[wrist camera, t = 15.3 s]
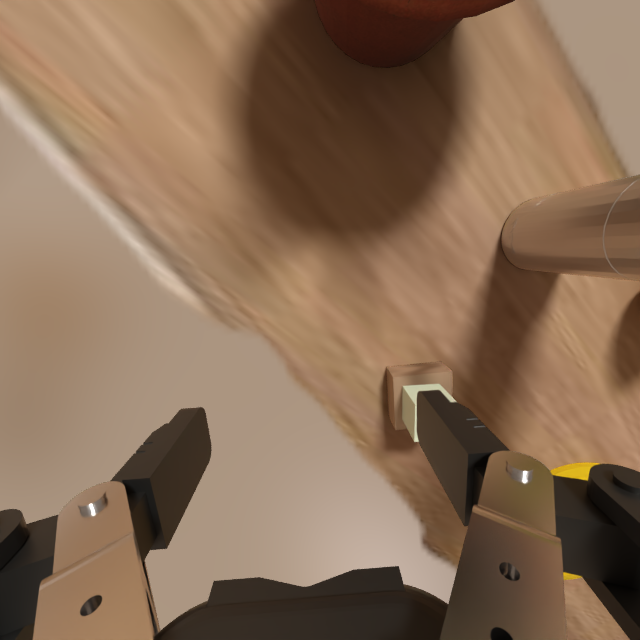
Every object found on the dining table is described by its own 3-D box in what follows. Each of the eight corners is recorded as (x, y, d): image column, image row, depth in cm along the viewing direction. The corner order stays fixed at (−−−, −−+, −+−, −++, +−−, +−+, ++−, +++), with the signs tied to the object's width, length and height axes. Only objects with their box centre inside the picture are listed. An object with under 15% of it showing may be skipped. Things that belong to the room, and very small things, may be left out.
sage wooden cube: (439, 383, 40) (457, 402, 35) (438, 416, 41) (454, 439, 36) (402, 385, 40) (415, 404, 35) (402, 419, 41) (414, 441, 36)
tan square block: (440, 360, 43) (452, 371, 40) (440, 409, 45) (452, 424, 41) (385, 366, 43) (393, 377, 40) (388, 414, 45) (395, 430, 41)
